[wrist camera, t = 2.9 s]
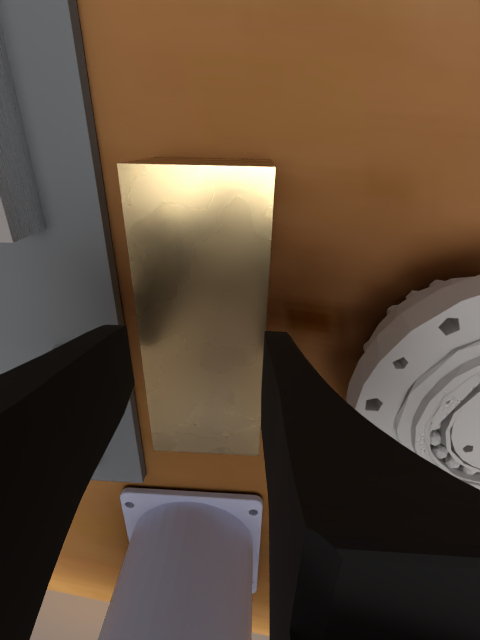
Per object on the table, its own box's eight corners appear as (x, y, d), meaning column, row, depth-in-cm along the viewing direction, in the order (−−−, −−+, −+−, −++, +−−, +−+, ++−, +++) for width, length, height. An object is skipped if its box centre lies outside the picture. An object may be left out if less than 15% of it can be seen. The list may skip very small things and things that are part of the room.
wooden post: (258, 389, 17) (258, 455, 13) (175, 385, 17) (153, 450, 14) (270, 159, 12) (275, 166, 9) (157, 156, 13) (117, 163, 9)
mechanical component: (732, 458, 11) (432, 558, 14) (610, 376, 15) (396, 468, 18) (660, 199, 8) (293, 401, 11) (529, 179, 12) (285, 333, 15)
